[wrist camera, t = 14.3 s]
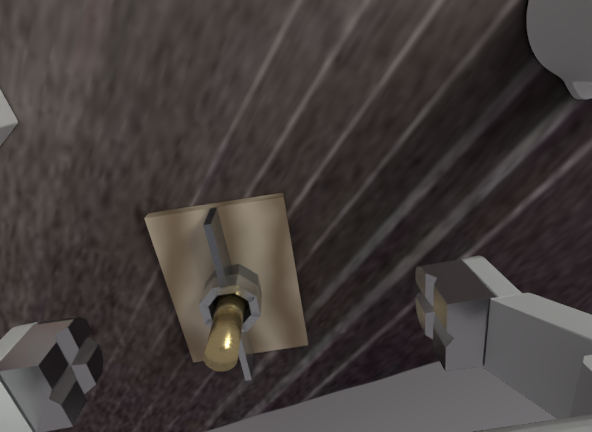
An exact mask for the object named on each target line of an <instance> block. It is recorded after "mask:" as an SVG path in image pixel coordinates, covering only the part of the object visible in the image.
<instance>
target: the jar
mask: <svg viewBox="0 0 592 432" xmlns="http://www.w3.org/2000/svg"><path fill="white" fill-rule="evenodd" d="M17 124H18V120H17V119H16V117H15V115H14V113H13V111H12V110H11V108H10V106H9V104H8V102H7V100H6V99H5V97H4V95H3V93H2V91H1V89H0V146H1V145H2V143H3V142H4V141H5V139H6V138H7V137H8V136H9V134H10V133H11V132H12V130H13V129H14V128H15V126H16V125H17Z"/></svg>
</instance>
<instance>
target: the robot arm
mask: <svg viewBox="0 0 592 432" xmlns="http://www.w3.org/2000/svg"><path fill="white" fill-rule="evenodd" d="M527 34H528V39H529V43H530V46H531V48H532V51H533V53H534V55H535V56H536V58H537V59H538V61H539V62H540V63H541V64H542V65H543V66H544V67H545V68H546V69H548V70H549V71H551V72H552V73H554V74H555V75H557V76H559V77H560V78H561V79H562V80H563V81H564V82H565V84H566V86H567V88H568V90H569V92H570V94H571V95H572V96H573V97H574V98H575V99H591V98H592V0H529V2H528V8H527ZM415 281H416V283H417V285H418V286H419V288H420V291H419V293H418V294H417V295H416V310H417V315H418V319H419V322H420V325H421V327H422V329H423V331H424V333H425V335H426V336H428V337H430V338H432V339H433V350H434V352H435V353H436V355H437V357H438V359H439V361H440V362H441V364H442V366H443V368H444V369H445V371H451V370H459V369H467V368H475V367H484V369H486V370H487V371H489V372H490V373H492V374H493V375H495V376H496V377H497V378H499V379H500V380H502V381H503V382H505V383H506V384H508V385H509V386H511V387H512V388H514V389H515V390H516V391H518V392H519V393H521V394H522V395H524V396H525V397H526V398H528V399H529V400H531V401H532V402H534V403H535V404H537V405H538V406H540V407H541V408H542V409H544V410H545V411H547V412H548V413H550V414H551V415H552V416H554V417H555V418H557V419H555V420H549V421H542V422H535V423H528V424H521V425H515V426H508V427H501V428H495V429H488V430H481V431H474V432H592V315H591V314H588V313H585V312H582V311H579V310H577V309H574V308H571V307H568V306H565V305H562V304H560V303H557V302H554V301H551V300H548V299H546V298H543V297H540V296H537V295H534V294H531V293H523V294H522V293H521V292H520V291H519V290H518V289H517V288H516V287H515V286H514V285H513V284H511V283H510V282H509V281H508V280H507V279H506V278H505V277H504V276H503V275H502V274H501V273H500V272H499V271H498V270H497V269H496V268H494V267H493V266H492V265H491V264H490V263H489V262H488V261H487V260H486V259H485V258H484V257H482V256H473V257H468V258H463V259H458V260H453V261H447V262H442V263H436V264H430V265H424V266H418V267H417V268H416V272H415ZM91 331H92V330H91V328H90V326H89V324H88V322H87V320H86V319H84V318H81V317H75V318H67V319H60V320H52V321H44V322H39V323H37V322H36V323H30V324H23V325H19V326H16V327H13V328H12V329H11V330H10V331H9V332H8V333H7V334H6V335H5V336H4V337H3V338H2V339H1V340H0V432H45V431H51V430H56V429H62V428H68V427H73V426H74V424H75V422H76V420H77V418H78V416H79V415H80V413H81V411H82V409H83V407H84V406H85V404H86V402H87V398H86V394H85V393H86V392H87V391H89V390H90V389H91V388H92V387H93V386H95V385H96V383H97V381H98V380H99V378H100V376H101V373H102V367H103V356H102V351H101V349H100V347H99V345H98V344H97V343H96V342H94V341H93V340H91V339H89V336H90V333H91Z"/></svg>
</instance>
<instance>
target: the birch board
mask: <svg viewBox="0 0 592 432" xmlns="http://www.w3.org/2000/svg"><path fill="white" fill-rule="evenodd" d="M216 207H217V208H218V212H219V216H220V221H221V225H222V229H223V233H224V237H225V241H226V245H227V249H228V253H229V257H230V261H231V265H235V264H241V265H242V266H244V267H246V268H247V269H249V270H251V271H252V272H254V273H256V274H258V277H259V282H260V286H261V291H262V300H261V316H260V317H259V318H258V320H257V321H256V322H255V323H254V324H253V325H252V327H251V328H250V329H249V330H248V333H249V337H250V341H251V345H252V349H253V353H259V352H266V351H273V350H279V349H286V348H293V347H299V346H306V345H308V339H307V333H306V327H305V321H304V315H303V309H302V303H301V297H300V291H299V285H298V279H297V273H296V267H295V261H294V255H293V249H292V243H291V237H290V231H289V225H288V219H287V213H286V207H285V201H284V195H283V193H277V194H271V195H264V196H258V197H251V198H245V199H238V200H232V201H225V202H219V203H212V204H206V205H199V206H193V207H186V208H180V209H173V210H167V211H160V212H154V213H148V214H147V216H146V217H145V218H144V219H145V222H146V225H147V228H148V231H149V234H150V237H151V240H152V243H153V245H154V248H155V251H156V254H157V257H158V260H159V263H160V266H161V269H162V272H163V275H164V278H165V281H166V284H167V286H168V289H169V292H170V295H171V298H172V301H173V304H174V307H175V310H176V313H177V316H178V319H179V322H180V325H181V327H182V330H183V333H184V336H185V339H186V342H187V345H188V348H189V351H190V354H191V357H192V360H193V362H199V361H204V354H205V350H206V346H207V342H208V338H209V334H210V330H211V327H209V326H207V325H205V324H204V321H203V318H202V315H201V311H200V308H199V303H200V299H201V296H202V293H203V289H204V286H205V283H206V281H207V280H208V279H209V277H210V276H211V275H212V273H213V272H214V271H215V267H214V263H213V259H212V256H211V252H210V248H209V245H208V241H207V237H206V233H205V230H204V226H203V224H204V222H205V220H206V217H207V215H208V213H209V210H210V208H216ZM217 296H218V297H219V295H217ZM238 356H239V355H238Z"/></svg>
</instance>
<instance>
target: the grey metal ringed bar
mask: <svg viewBox="0 0 592 432" xmlns="http://www.w3.org/2000/svg"><path fill="white" fill-rule="evenodd" d="M203 226H204V230H205V233H206V237H207V241H208V245H209V248H210V252H211V256H212V259H213V263H214V267H215V271H214V272H213V273H212V275H211V276H210V277H209V279H208V280H207V281H206V283H205V286H204V289H203V293H202V296H201V299H200V303H199V308H200V311H201V315H202V318H203V321H204V324H205V325H207V326H209V327H211V326H212V322H213V318H214V314H215V310H216V306H217V302H218V298H219V297H218V296H217V295H223V294H230V293H235V294H237V295H239V296H241V297H242V298H244V299H246V302H245V309H244V317H243V324H242V331H241V338H240V346H239V353H238V355H239V358H240V362H241V366H242V370H243V373H244V377H245V381H247V380H252V370H253V355H254V353H253V349H252V345H251V341H250V337H249V333H248V330H249V329H250V328H251V327H252V325H253V324H254V323H255V322H256V321H257V320H258V318H259V317H260V316H261V300H262V291H261V286H260V282H259V277H258V274H256V273H254V272H252V271H251V270H249V269H247V268H246V267H244V266H242V265H241V264H235V265H231V261H230V257H229V253H228V249H227V245H226V241H225V237H224V233H223V229H222V225H221V221H220V216H219V212H218V208H217V207H216V208H210V210H209V213H208V215H207V217H206V220H205V222H204V224H203Z"/></svg>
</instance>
